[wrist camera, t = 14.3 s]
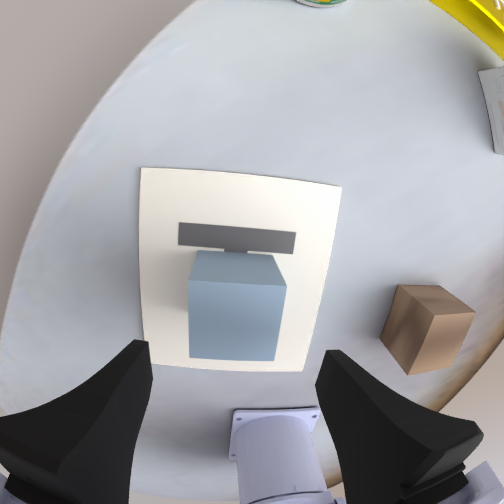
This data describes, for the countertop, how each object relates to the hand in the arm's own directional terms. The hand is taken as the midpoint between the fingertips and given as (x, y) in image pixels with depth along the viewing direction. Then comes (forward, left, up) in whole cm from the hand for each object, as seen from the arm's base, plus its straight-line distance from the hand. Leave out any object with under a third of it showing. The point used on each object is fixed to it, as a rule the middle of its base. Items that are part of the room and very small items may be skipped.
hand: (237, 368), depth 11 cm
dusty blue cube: (0, 0, -8) cm, 8 cm away
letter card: (0, 0, -8) cm, 8 cm away
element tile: (+33, -20, -9) cm, 40 cm away
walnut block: (-2, -15, -8) cm, 17 cm away
